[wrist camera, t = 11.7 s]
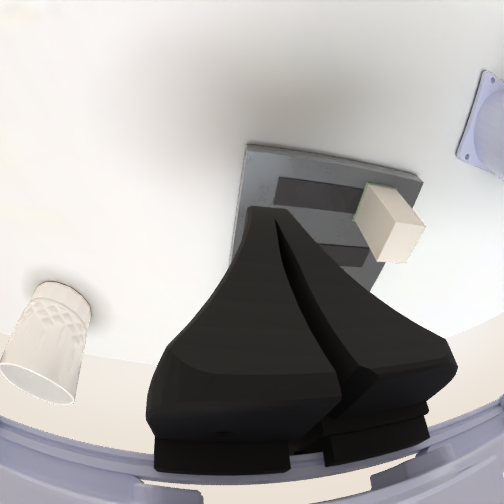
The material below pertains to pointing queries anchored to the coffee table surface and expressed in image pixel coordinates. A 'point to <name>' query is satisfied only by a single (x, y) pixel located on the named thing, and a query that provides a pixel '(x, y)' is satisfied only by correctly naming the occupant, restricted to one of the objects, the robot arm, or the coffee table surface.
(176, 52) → the coffee table surface
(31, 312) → the white cup
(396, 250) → the switch
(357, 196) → the switch unit
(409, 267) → the coffee table surface
